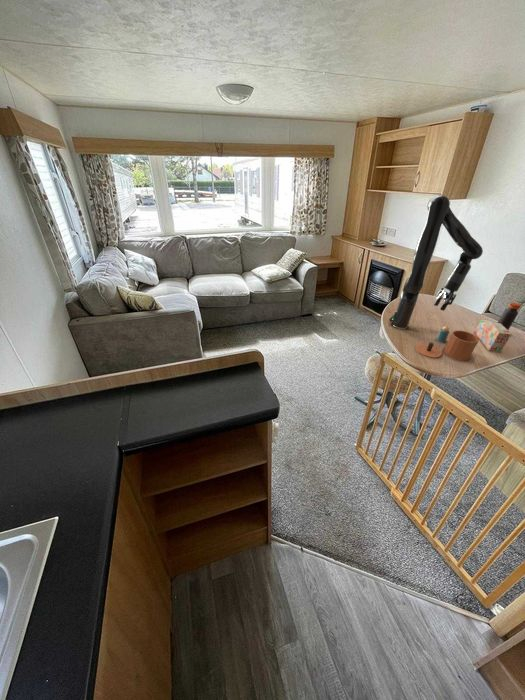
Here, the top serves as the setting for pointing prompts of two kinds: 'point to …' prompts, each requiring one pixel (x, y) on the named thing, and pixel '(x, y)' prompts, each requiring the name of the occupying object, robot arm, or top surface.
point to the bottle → (509, 315)
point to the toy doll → (443, 334)
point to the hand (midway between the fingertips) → (438, 307)
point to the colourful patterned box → (492, 335)
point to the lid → (428, 350)
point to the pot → (461, 345)
